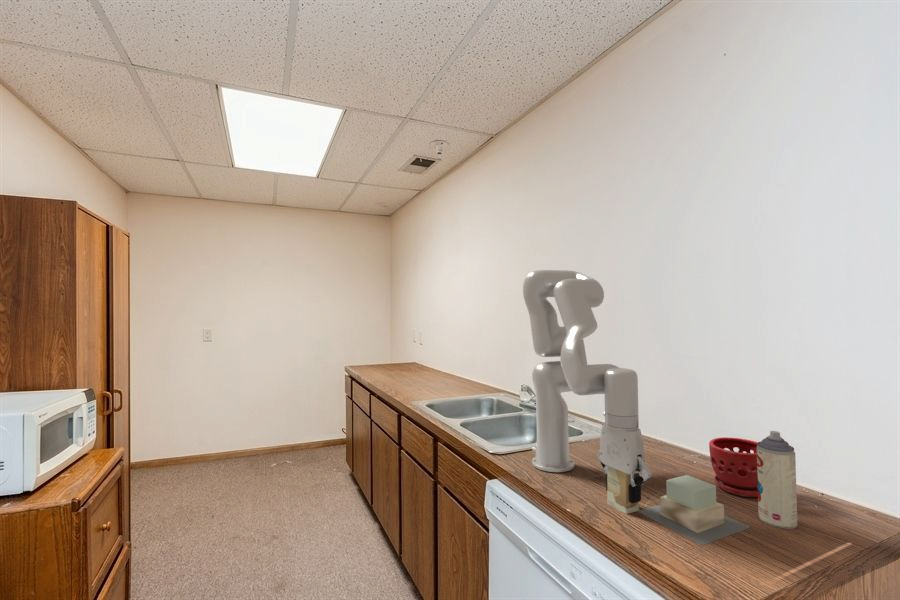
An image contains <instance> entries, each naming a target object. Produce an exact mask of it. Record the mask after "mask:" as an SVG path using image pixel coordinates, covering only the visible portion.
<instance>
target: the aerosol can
mask: <svg viewBox="0 0 900 600" xmlns="http://www.w3.org/2000/svg"><path fill="white" fill-rule="evenodd" d="M757 442H758V443H757V444H758V445H757V477H758V497H757V501H758V502H757V505H758V509H757V510H758V512H757V513H758V519H759V520H760V521H761V522H763V523H765V524H766V525H769V526H772V527H774V528H779V529H784V530H786V529H787V530H793V529H796V528H797V527H798V499H797V470H796V469H797V468H796V465H797V464H796V463H797V462H796V461H797V460H796V452H795V448H794V447H793V446H792V445H790V444H789V443H788V441H786V440H785V439H784V438H782V437H781V432H779V431H777V430H770V432H769V435H768V436H765V438H763V439H762V440H761V441H757Z"/></svg>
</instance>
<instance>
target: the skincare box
mask: <svg viewBox="0 0 900 600" xmlns="http://www.w3.org/2000/svg"><path fill="white" fill-rule="evenodd" d="M634 478H635V479H636V474H634ZM629 485H631V483H630V480H629V474H625V473H623V472H620V471H618V470H616V469H613V468H611V467H609V466H607V490H606V493H607V495H606V498H607V499H606V501H607V505H610V506H611V507H612V508H615V509H616V510H619V511H620V512H621V513H624V514H625V515H628V514H632V513H635V512H637V511H639V510H640V501H639V502H636V503H630V502H629Z"/></svg>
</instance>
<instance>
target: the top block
mask: <svg viewBox="0 0 900 600" xmlns="http://www.w3.org/2000/svg"><path fill="white" fill-rule="evenodd" d="M665 484H666V485H665V486H666V487H665V488H666V492H665V493H666V495H667V498H668V499H670V500H673V501H675V502H677V503H679V504H682V505H684V506H686V507H688V508H691V509H693V510H695V511H696V510H700V509H703V508H706V507H709V506H712V505H715V504H716V502H717V485H716V484H715V485H714V484H712V483H709V482H707V481H704V480H702V479H698V478H696V477H694V476H691V475H689V474H685V475H681V476H678V477H673V478H668V479H667V480H665Z"/></svg>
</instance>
